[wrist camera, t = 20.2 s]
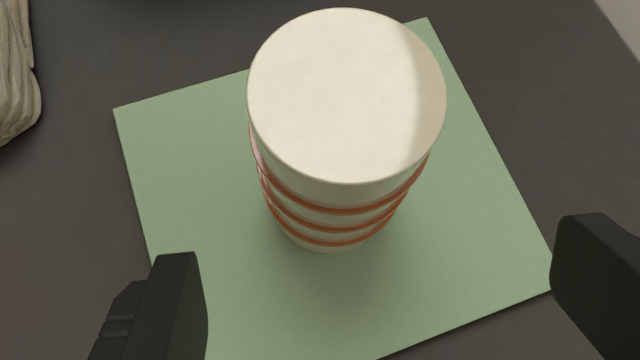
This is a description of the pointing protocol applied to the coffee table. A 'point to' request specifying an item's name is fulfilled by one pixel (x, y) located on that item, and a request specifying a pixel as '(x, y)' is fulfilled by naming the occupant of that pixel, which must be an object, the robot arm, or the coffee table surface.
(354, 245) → the banded jar
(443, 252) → the mat
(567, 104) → the coffee table surface
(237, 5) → the coffee table surface
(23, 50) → the fossil tooth
